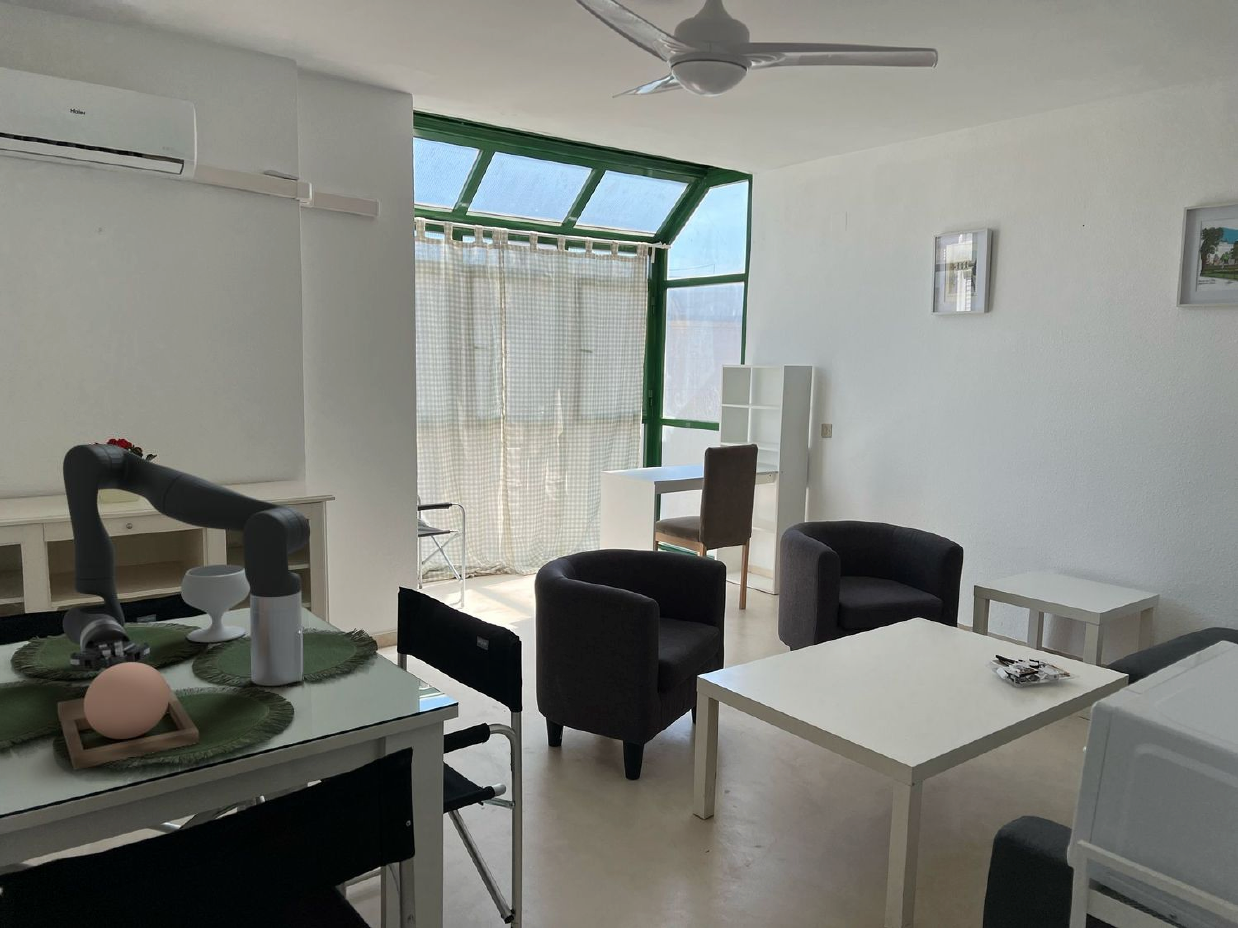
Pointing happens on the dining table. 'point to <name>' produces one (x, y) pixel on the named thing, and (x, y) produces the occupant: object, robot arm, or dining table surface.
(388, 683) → the dining table surface
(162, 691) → the ball
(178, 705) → the wooden rectangular frame
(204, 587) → the chalice
